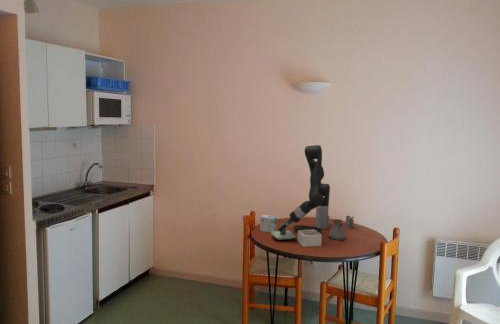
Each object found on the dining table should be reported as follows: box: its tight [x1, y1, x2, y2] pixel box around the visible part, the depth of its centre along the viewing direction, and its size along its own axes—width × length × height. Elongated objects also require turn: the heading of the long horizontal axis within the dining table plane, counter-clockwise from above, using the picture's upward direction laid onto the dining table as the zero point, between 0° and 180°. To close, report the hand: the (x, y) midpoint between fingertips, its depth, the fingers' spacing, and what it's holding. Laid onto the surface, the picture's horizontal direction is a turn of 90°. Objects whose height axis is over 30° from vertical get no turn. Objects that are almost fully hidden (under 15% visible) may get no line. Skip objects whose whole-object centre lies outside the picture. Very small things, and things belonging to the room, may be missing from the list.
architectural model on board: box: [345, 215, 355, 230], centre depth 299 cm, size 11×3×10 cm, turn 1°
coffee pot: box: [328, 219, 346, 242], centre depth 264 cm, size 21×12×15 cm, turn 178°
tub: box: [296, 229, 323, 248], centre depth 257 cm, size 12×12×8 cm
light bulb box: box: [259, 214, 278, 233], centre depth 285 cm, size 11×7×11 cm, turn 71°
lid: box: [270, 222, 296, 241], centre depth 265 cm, size 13×13×9 cm
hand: (280, 229), depth 265 cm, fingers closed on lid, 3 cm apart
